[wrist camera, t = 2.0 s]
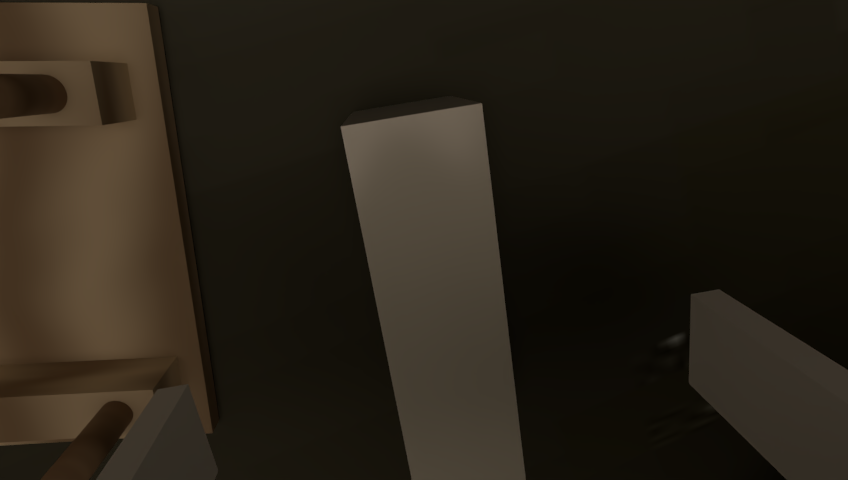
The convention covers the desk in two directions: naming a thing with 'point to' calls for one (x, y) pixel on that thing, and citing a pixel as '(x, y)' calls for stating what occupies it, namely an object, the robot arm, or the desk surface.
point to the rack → (92, 232)
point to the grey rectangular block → (438, 284)
